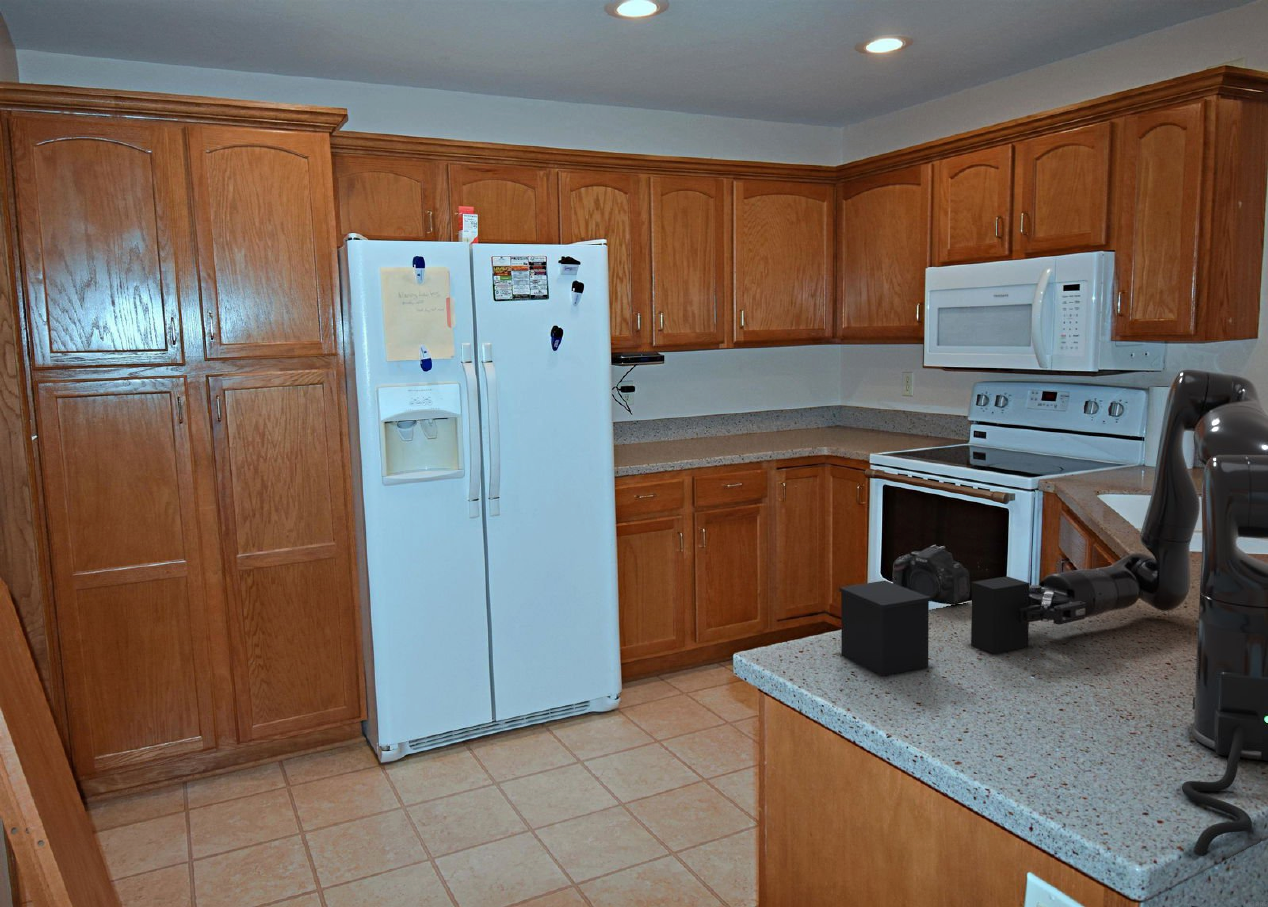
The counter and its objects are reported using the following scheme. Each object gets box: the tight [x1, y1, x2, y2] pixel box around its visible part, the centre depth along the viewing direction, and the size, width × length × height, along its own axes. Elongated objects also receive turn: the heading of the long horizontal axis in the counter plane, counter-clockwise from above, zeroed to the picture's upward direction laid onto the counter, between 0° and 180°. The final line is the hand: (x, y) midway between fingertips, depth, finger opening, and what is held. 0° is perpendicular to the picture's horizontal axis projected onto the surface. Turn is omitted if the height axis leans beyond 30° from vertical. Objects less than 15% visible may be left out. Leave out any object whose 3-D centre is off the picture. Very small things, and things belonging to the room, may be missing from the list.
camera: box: [892, 544, 970, 606], centre depth 160 cm, size 13×10×10 cm
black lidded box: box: [838, 580, 931, 677], centre depth 130 cm, size 10×8×10 cm
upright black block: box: [970, 575, 1031, 655], centre depth 135 cm, size 4×7×10 cm, turn 112°
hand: (998, 608), depth 135 cm, fingers open, 8 cm apart
